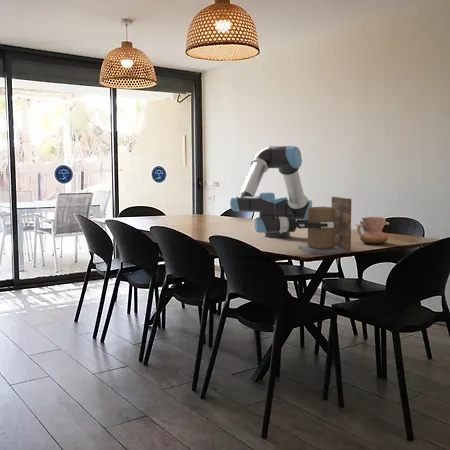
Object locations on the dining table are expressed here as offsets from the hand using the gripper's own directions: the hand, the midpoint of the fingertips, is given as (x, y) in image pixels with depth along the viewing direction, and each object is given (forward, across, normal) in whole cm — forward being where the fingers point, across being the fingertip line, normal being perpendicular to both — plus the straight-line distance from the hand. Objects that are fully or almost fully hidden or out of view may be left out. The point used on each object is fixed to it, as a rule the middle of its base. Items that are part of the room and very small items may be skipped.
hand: (328, 223), depth 260 cm
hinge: (+43, -50, -14) cm, 67 cm away
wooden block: (-3, 0, -12) cm, 13 cm away
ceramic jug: (+32, -18, -14) cm, 39 cm away
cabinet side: (+6, 0, -14) cm, 15 cm away
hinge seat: (-3, 0, -14) cm, 14 cm away
